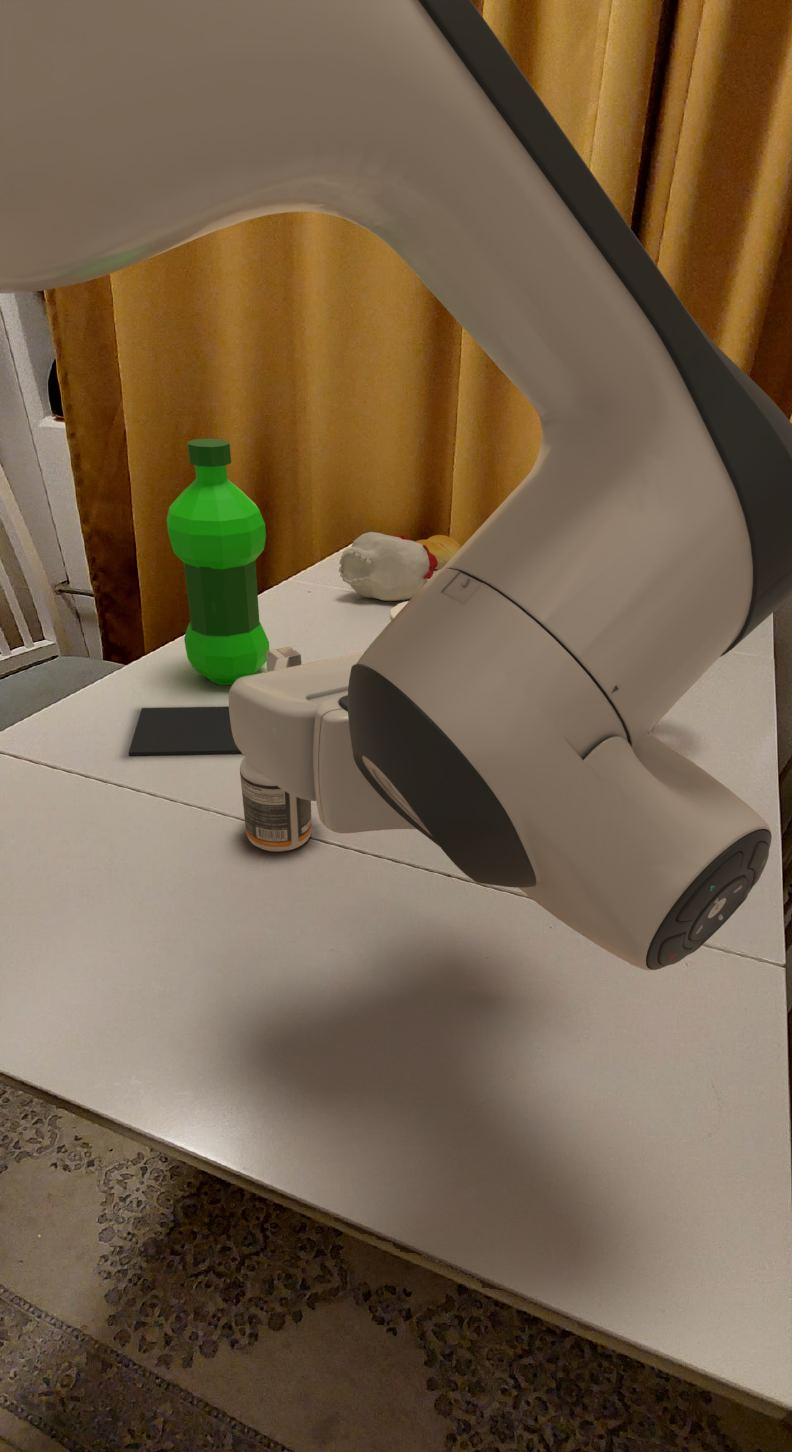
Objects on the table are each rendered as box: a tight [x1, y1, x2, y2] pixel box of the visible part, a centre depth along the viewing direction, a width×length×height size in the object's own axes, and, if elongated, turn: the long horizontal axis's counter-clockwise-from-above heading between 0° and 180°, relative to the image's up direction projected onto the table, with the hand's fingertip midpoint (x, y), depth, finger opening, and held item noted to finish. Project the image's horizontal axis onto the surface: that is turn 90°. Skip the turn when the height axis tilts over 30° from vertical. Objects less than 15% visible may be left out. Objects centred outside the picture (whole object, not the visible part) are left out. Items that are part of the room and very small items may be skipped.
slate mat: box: [128, 706, 242, 757], centre depth 88 cm, size 20×10×1 cm, turn 96°
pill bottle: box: [239, 755, 313, 852], centre depth 70 cm, size 6×6×10 cm
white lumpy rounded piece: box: [338, 531, 438, 602], centre depth 121 cm, size 9×11×15 cm
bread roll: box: [415, 534, 462, 571], centre depth 136 cm, size 8×9×4 cm
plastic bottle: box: [165, 438, 270, 686], centre depth 92 cm, size 10×10×25 cm
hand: (346, 646), depth 52 cm, fingers open, 8 cm apart
